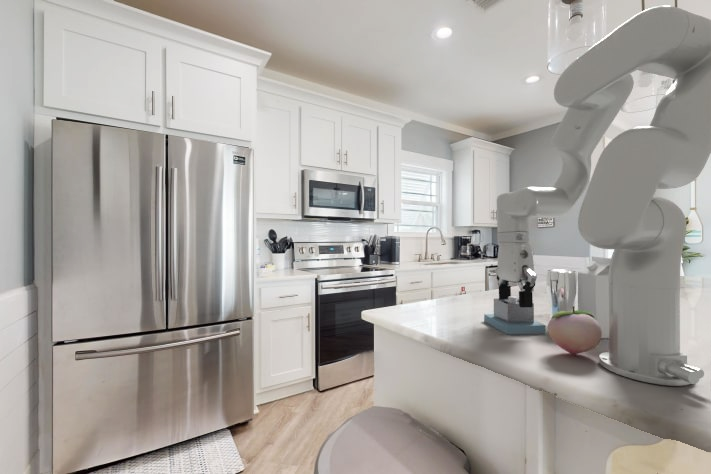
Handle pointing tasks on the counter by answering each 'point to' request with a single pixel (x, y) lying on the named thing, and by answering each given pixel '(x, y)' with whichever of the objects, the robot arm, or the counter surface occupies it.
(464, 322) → the counter surface
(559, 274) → the beer glass
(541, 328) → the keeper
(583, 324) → the decorative fruit
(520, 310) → the gray square block
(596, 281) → the milk carton
